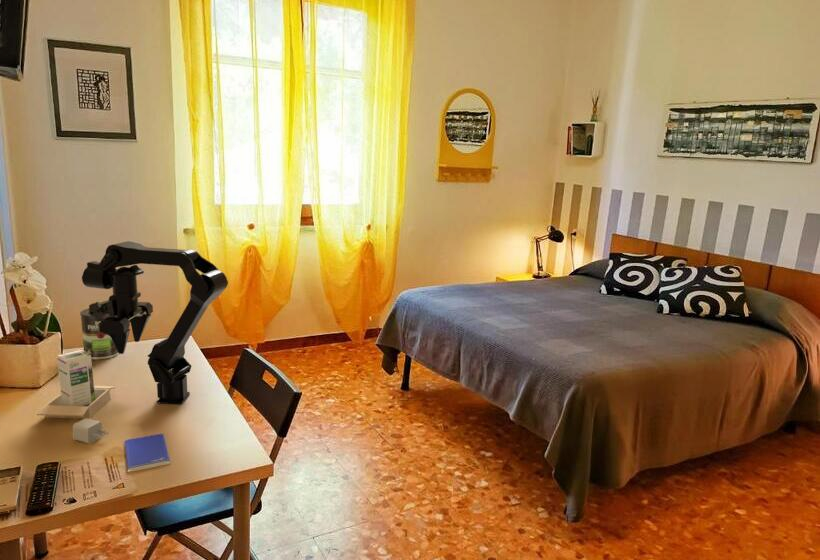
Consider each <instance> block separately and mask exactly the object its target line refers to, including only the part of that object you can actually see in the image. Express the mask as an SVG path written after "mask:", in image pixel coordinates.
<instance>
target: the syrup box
mask: <svg viewBox="0 0 820 560" xmlns="http://www.w3.org/2000/svg"><path fill="white" fill-rule="evenodd" d="M92 360H93V359H91V355H90V354H89V353H87V352H85V351H84V349H78V350H75V351H71V352H67V353H63V354H57V356H56V361H57V370H58V377H59V378H58V379H59V387H60V388H59V389H60V393H61V398H62V406H89V405H90V404H91V403H92V402H93V401H95V393H94V386H95V385H94V384H95V382H94V373H93V363H92Z"/></svg>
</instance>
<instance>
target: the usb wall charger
mask: <svg viewBox="0 0 820 560" xmlns="http://www.w3.org/2000/svg"><path fill="white" fill-rule="evenodd" d="M104 435H109V431H107V430H104V429H103V422H102V421H98V420H94V419H91V418H90V419H87V418H85V419H80V420H79V421H78V422H75V423H73V425H72V436H73V437H72V438H73V440H74V441H75V440H76V441H79V442H82V443H86V444H89V445H90V444H93V443H94V442H96V441H99V440H100V439H102V437H103V436H104Z"/></svg>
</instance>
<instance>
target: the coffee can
mask: <svg viewBox="0 0 820 560" xmlns="http://www.w3.org/2000/svg"><path fill="white" fill-rule="evenodd" d="M80 317H81V318H80V320H81V332H82V341H83V342H82V344H83V346H82V347H83V351H85V352H87V353H89V354H90V355H91V360H106V359H110V358H113V357H116V356H118V355H120V354H119V353H118V351H117V348H116V346H115V344H114V342H113V340H112V339H111V337H110V336H109V335H107V334H103V333H102V332H99V330H98V324H99V323H100V322H101V321H102V320H104V319H105V318H107V317H117V316H109V314H106V315H103V316H100V317H99V318H96V319H95V318H94V317H93V316H91V315H89V307H88V308H85V309H83V310H81V311H80Z"/></svg>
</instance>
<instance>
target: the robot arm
mask: <svg viewBox="0 0 820 560" xmlns="http://www.w3.org/2000/svg"><path fill="white" fill-rule="evenodd" d="M141 264H142V265H143V264H144V265H156V266H157V265H158V266H170V267H171V266H172V267H179V268H180V269H181V270H182V273H183V275H184V278H185V280H186V281H187V282H188V284H190V286H191V287H190V290H189V295H190V296H189V297H190V298H189V300H188V301H189V302H188V303H187V304H186V307H185V308H184V309H183V311H182V313H181V315H180V317H179V319H178V320H177V322H176V324H175V326H174V327H173V329H172V330H171V332H170V334H169V336H168V337H167V338H164V339H163V340H161V341H159V342H157V343H155V344H154V345H153V346H152V350H151V352H150V353H149V354H147V357H148V360H147V365H148V367H149V370H150V372H151V375H152V377H153V380H154V382H155V383H156V391H157V393H156V394H157V398H158V399H157V400H156V403H157V404H170V405H171V404H173V405H174V404H175V405H177V404H178V405H181V404H183V403H184V402H185V401H186V399H187V398H188V397H189V396H190V394H191V392H190V391H188V381H187V380H188V375H187V374H189V373H190V372H191V369H192V365H191V363H189V361H188V360H187V359H186V358H185V357H184V356H185V354H186V350H185V348H186V347H185V346H186V344H187V342H188V341H189V339H190V337H191V336H192V334H193V332H194V330H195V329H196V327H197V325H198V324H199V322H200V320H201V318H203V315H204V314H205V312H206V310H207V308H208V307H209V306H210V305H211V303H212V302H214V301H215V300H216V299H218V297H219V296H220V295H221V294H222V293H223V292H224V291H225V290H226V289H227V287H228V285H229V280H228V278H227V276H226V274H225V272H224V271H223V272H222V271H221V270H219V268H218V267H217V266H216V265H215V264H213V263H212V262H211V261H209V260H207V259H206V258H204V257H203V256H202V255H201V254H200V253H199V252H198V251H197V250H195V249H192V248H190V249H189V248H188V249H181V248H180V249H179V248H178V249H177V248H162V247H150V246H149V247H148V246H145V245H143V244H141V243H138V242H134V241H130V240H128V241H122V242H119V243H114V244H110V245H108V246H107V247H106V249H105V254H104V256H102V258H101V260H100V261H93V260H92V261H89V262H87V263H86V265H87V266H86V267H85V268H84V271H82V275H81V281H82V284H83V285H84V286H85V287H87V288H94V289H95V288H96V289H103V290H110V289H112V294H111V295H110V296H109V297H108V300H104V301H101V302H99V301H96V302H93V303H90V304H89V305H88V308H89V315H91V316H93V317H94V318H95V319H96V318H99V317H100V316H103V315H106V314H109V316H117V317H107V318H105V319H104V320H102V321H101V322H100V323H99V324H98V330H99V332H102V333H103V334H107V335H109V336H110V337H111V339H112V340H113V342H114V344H115V346H116V348H117V351H118V353H119V355H124V354H125V351H126V347H127V343H128V340H129V336H130V333H131V331H132V337H133V340H134V342H135V343H138V342H140V340H141V338H142V336H143V333H144V331H145V328H146V327H147V323H148V322H149V319H150V317H152V313H153V312H154V309H153V308H154V306H153V304H152V303H151V302H148V301H139V298H140V297H141V296H142V295H141V294H142V293H141V292H140V291H139V292H138V284H137V283H138V282H137V281H138V280H137V276H141V275H142V274H144V273H145V271H144V270H143V269H142V268H140V267H139V266H138V265H141ZM128 266H130V267H128ZM198 271H199V272H200V273H201V274H200V273H199V272H198ZM130 326H131V327H130ZM130 328H131V329H130Z"/></svg>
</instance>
